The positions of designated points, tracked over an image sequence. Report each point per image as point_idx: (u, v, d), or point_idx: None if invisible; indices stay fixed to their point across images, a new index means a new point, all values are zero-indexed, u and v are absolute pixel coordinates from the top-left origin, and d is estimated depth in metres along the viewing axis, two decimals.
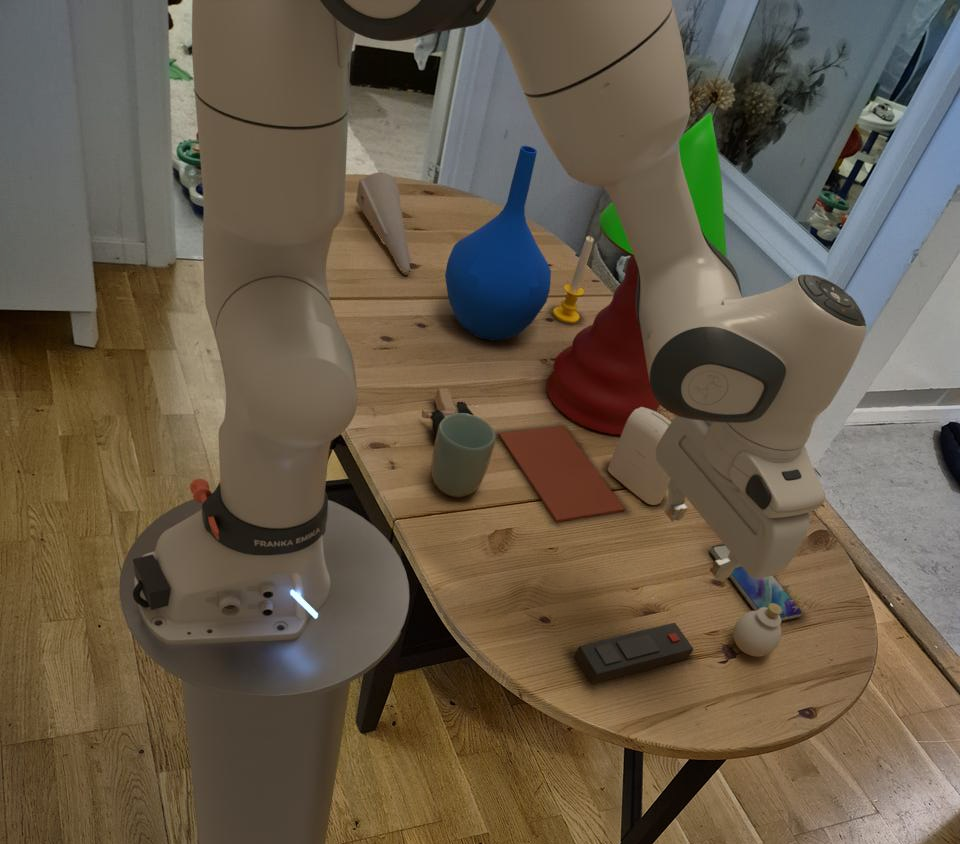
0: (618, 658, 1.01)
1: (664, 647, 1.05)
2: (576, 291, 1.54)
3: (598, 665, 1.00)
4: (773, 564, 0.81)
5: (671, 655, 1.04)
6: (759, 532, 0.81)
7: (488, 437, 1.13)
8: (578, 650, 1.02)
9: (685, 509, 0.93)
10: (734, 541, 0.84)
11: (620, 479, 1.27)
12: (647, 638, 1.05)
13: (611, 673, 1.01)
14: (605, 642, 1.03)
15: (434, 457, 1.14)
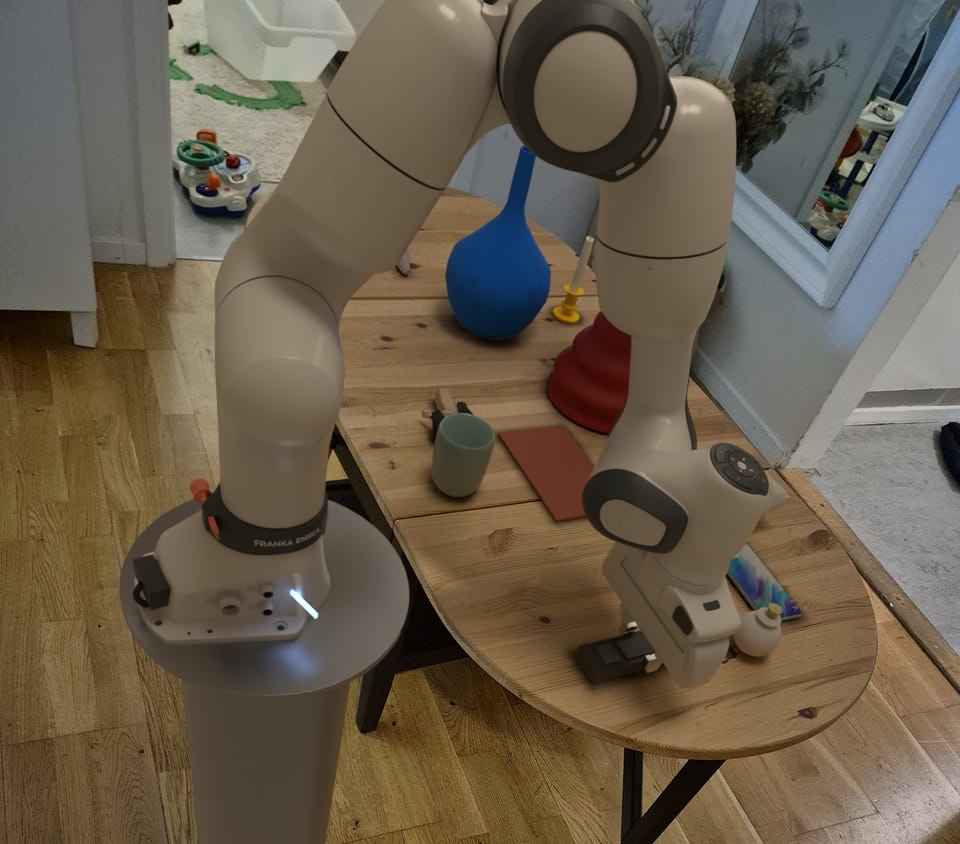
0: (618, 658, 1.01)
1: None
2: (576, 291, 1.54)
3: (598, 665, 1.00)
4: (698, 678, 0.93)
5: None
6: (685, 651, 0.92)
7: (488, 437, 1.13)
8: (578, 650, 1.02)
9: (635, 627, 1.04)
10: (666, 655, 0.96)
11: None
12: None
13: (611, 673, 1.01)
14: (605, 642, 1.03)
15: (434, 457, 1.14)
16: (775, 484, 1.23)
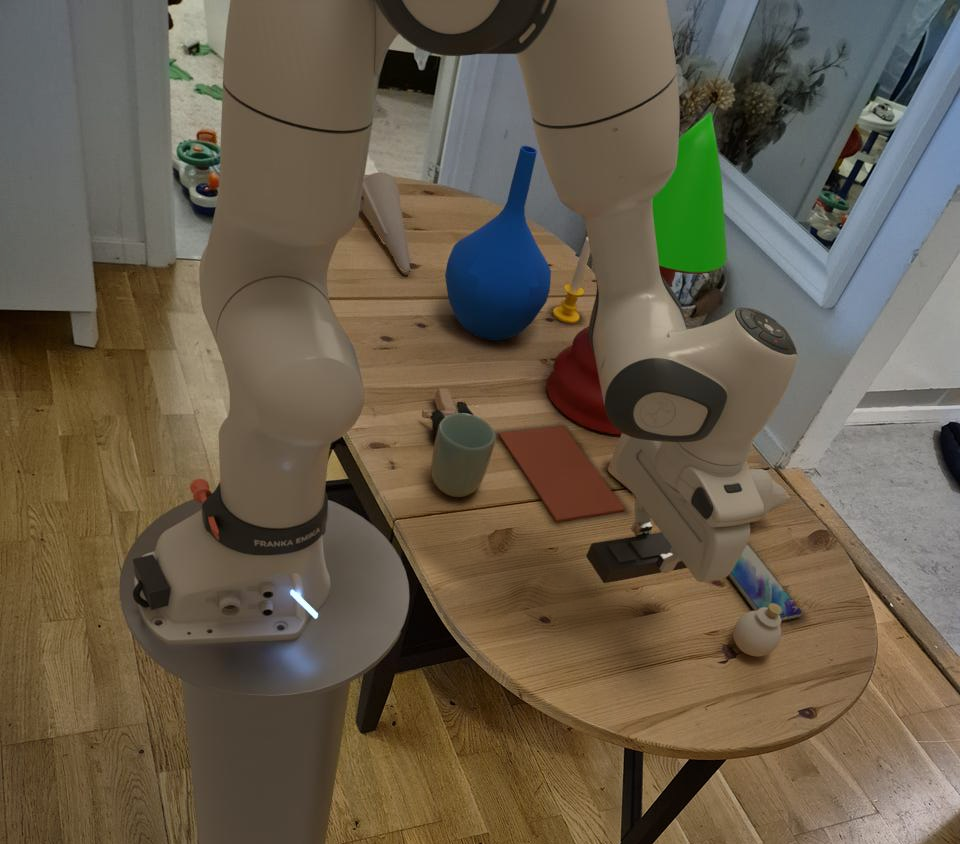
0: (632, 557, 0.97)
1: None
2: (576, 291, 1.54)
3: (611, 563, 0.96)
4: (717, 569, 0.88)
5: None
6: (704, 540, 0.88)
7: (488, 437, 1.13)
8: (590, 548, 0.97)
9: (650, 527, 1.00)
10: (683, 548, 0.91)
11: (620, 479, 1.27)
12: (662, 540, 1.00)
13: (625, 572, 0.96)
14: (619, 541, 0.98)
15: (434, 457, 1.14)
16: (775, 484, 1.23)
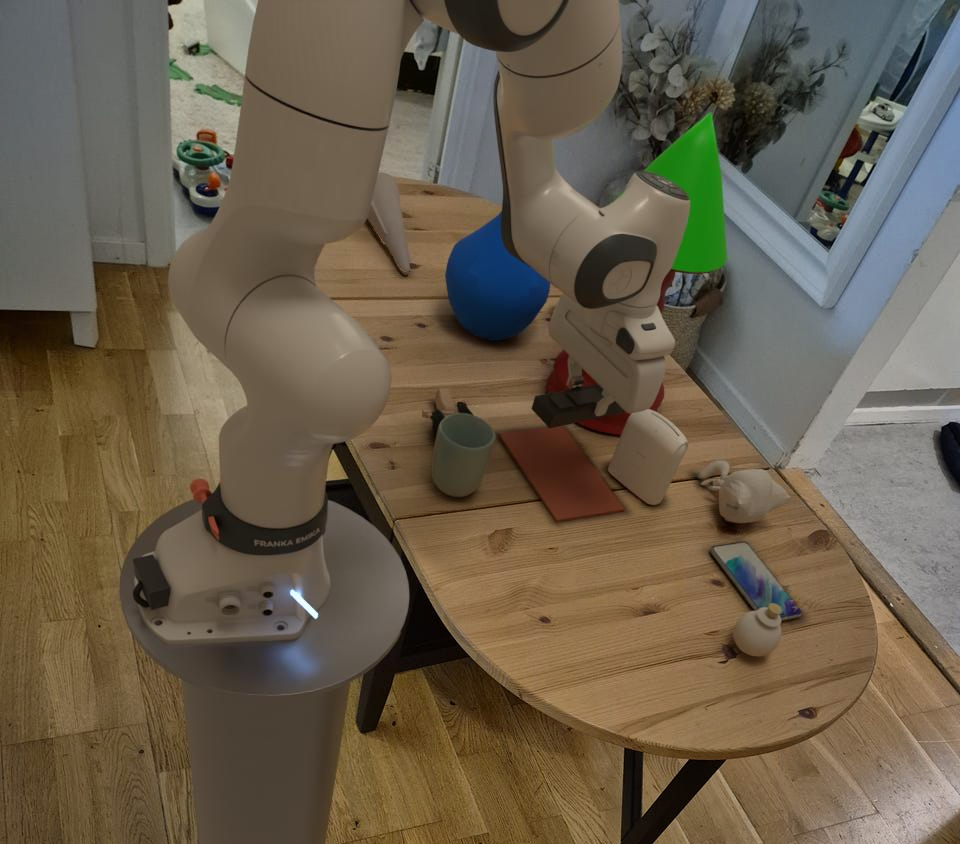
0: (570, 404, 1.14)
1: None
2: None
3: (553, 409, 1.13)
4: (642, 399, 1.06)
5: (616, 403, 1.17)
6: (629, 375, 1.06)
7: (488, 437, 1.13)
8: (534, 401, 1.14)
9: (582, 380, 1.17)
10: (612, 387, 1.09)
11: (620, 479, 1.27)
12: (593, 390, 1.18)
13: (566, 417, 1.14)
14: (557, 393, 1.15)
15: (434, 457, 1.14)
16: (775, 484, 1.23)
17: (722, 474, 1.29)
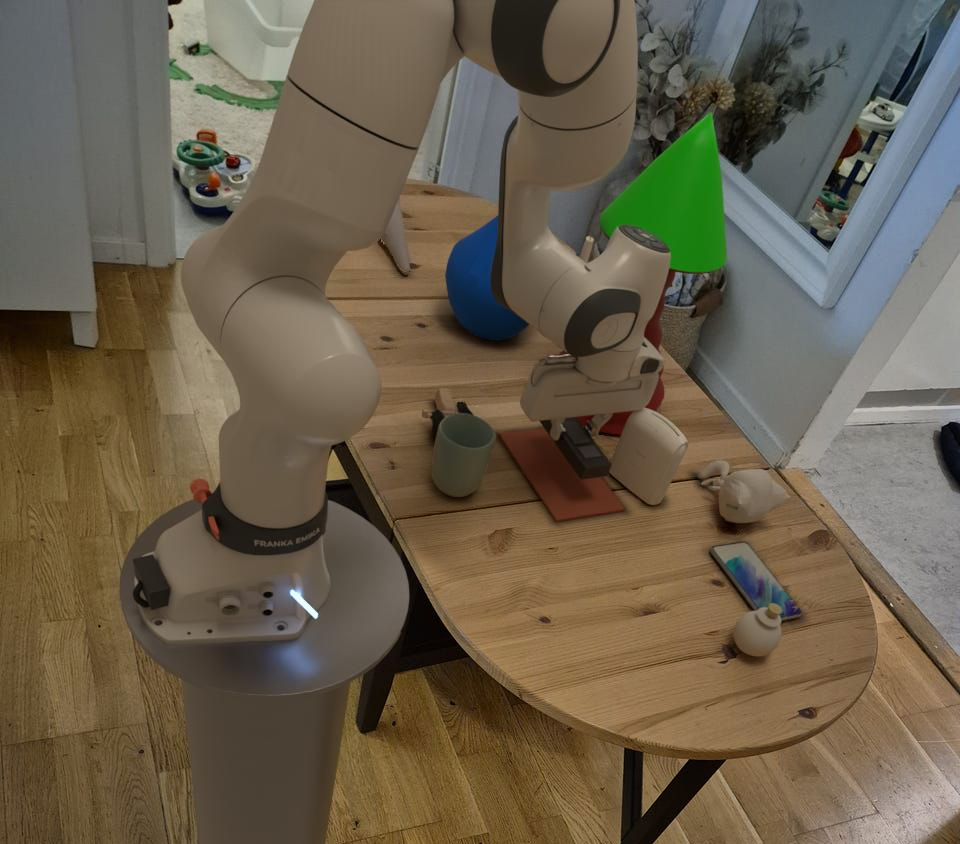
0: (592, 447, 1.19)
1: None
2: None
3: (603, 461, 1.18)
4: None
5: None
6: (642, 385, 1.16)
7: (488, 437, 1.13)
8: (585, 471, 1.17)
9: (561, 425, 1.20)
10: (624, 404, 1.18)
11: (620, 479, 1.27)
12: (564, 424, 1.21)
13: None
14: (576, 451, 1.18)
15: (434, 457, 1.14)
16: (775, 484, 1.23)
17: (722, 474, 1.29)
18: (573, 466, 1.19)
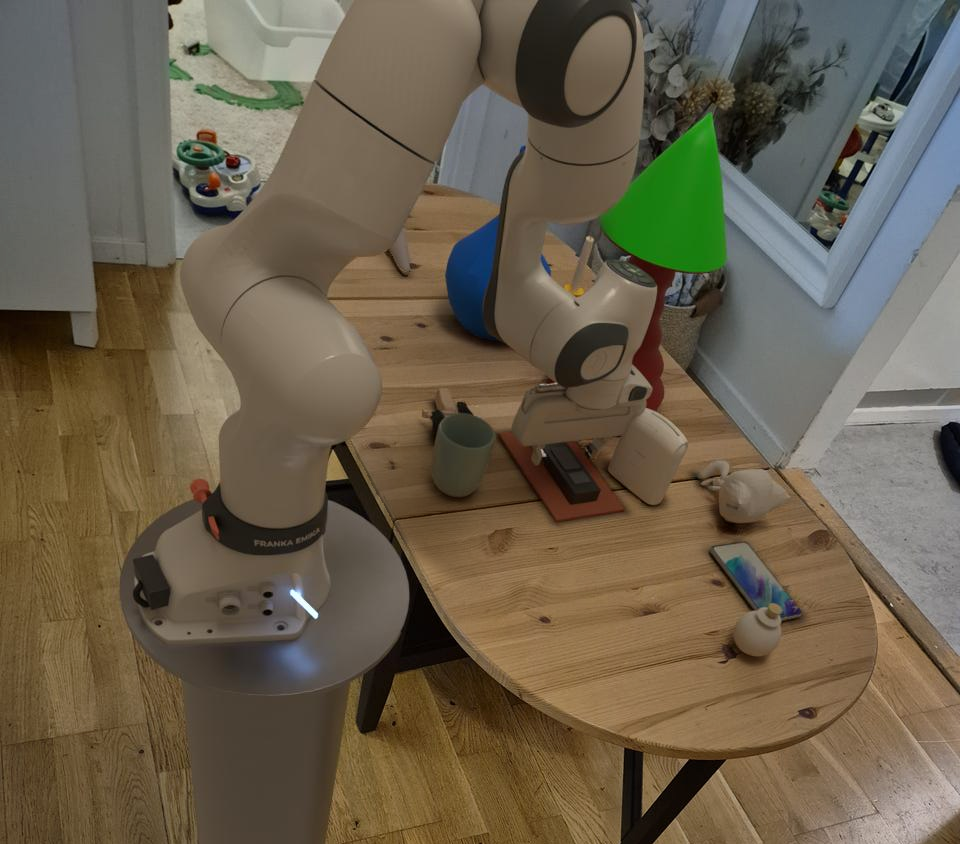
0: (582, 472, 1.23)
1: (559, 443, 1.27)
2: (576, 291, 1.54)
3: (592, 487, 1.22)
4: None
5: (565, 442, 1.28)
6: (631, 411, 1.20)
7: (488, 437, 1.13)
8: (575, 497, 1.20)
9: (542, 450, 1.22)
10: (613, 429, 1.21)
11: (620, 479, 1.27)
12: (555, 450, 1.25)
13: None
14: (566, 476, 1.22)
15: (434, 457, 1.14)
16: (775, 484, 1.23)
17: (722, 474, 1.29)
18: (564, 491, 1.22)
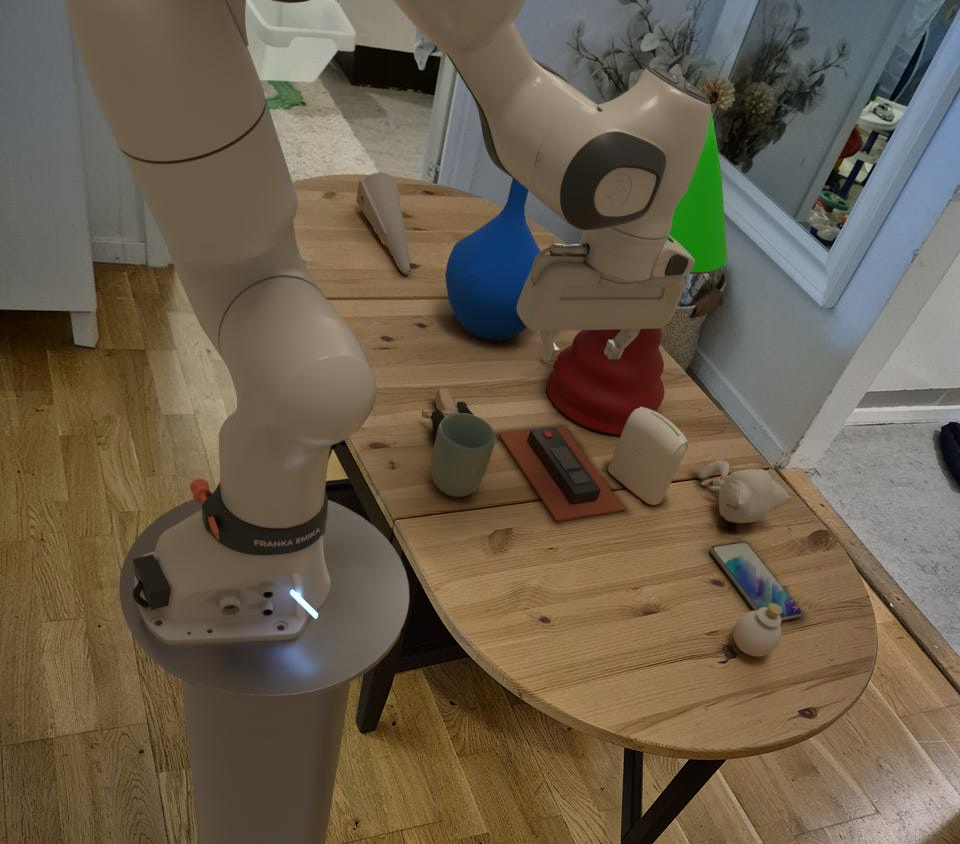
0: (582, 472, 1.23)
1: (559, 443, 1.27)
2: None
3: (592, 487, 1.22)
4: None
5: (565, 442, 1.28)
6: (665, 293, 0.96)
7: (488, 437, 1.13)
8: (575, 497, 1.20)
9: (553, 344, 0.98)
10: (642, 318, 0.97)
11: (620, 479, 1.27)
12: (555, 450, 1.25)
13: None
14: (566, 476, 1.22)
15: (434, 457, 1.14)
16: (775, 484, 1.23)
17: (722, 474, 1.29)
18: (564, 491, 1.22)
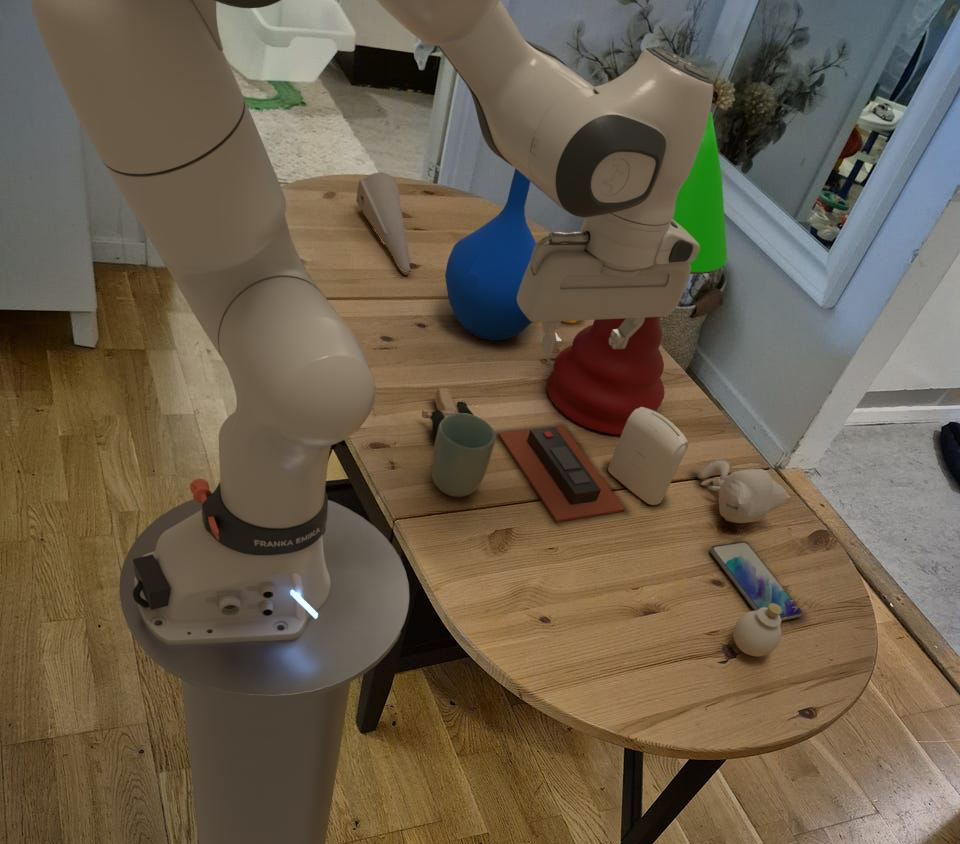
0: (582, 472, 1.23)
1: (559, 443, 1.27)
2: None
3: (592, 487, 1.22)
4: None
5: (565, 442, 1.28)
6: (670, 281, 0.93)
7: (488, 437, 1.13)
8: (575, 497, 1.20)
9: (556, 334, 0.95)
10: (646, 306, 0.95)
11: (620, 479, 1.27)
12: (555, 450, 1.25)
13: None
14: (566, 476, 1.22)
15: (434, 457, 1.14)
16: (775, 484, 1.23)
17: (722, 474, 1.29)
18: (564, 491, 1.22)
